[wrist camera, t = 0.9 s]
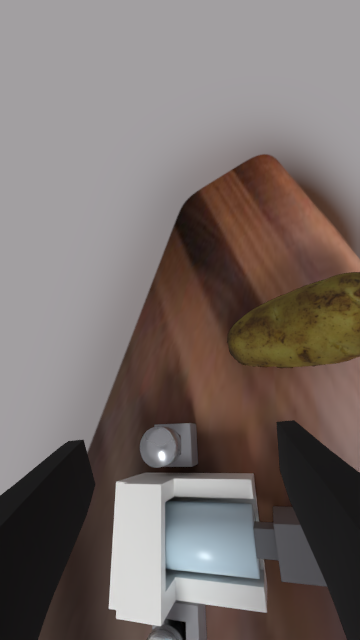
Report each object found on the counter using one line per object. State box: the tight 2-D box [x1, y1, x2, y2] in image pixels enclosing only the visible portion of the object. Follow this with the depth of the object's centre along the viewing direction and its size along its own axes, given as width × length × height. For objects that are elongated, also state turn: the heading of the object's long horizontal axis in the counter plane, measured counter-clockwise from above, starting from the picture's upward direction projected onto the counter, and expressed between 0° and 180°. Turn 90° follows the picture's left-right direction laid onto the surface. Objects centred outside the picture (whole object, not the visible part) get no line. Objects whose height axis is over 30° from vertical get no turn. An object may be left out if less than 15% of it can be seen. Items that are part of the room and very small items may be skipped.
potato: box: [227, 272, 360, 368], centre depth 22 cm, size 8×13×8 cm, turn 76°
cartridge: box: [165, 501, 327, 586], centre depth 19 cm, size 4×12×5 cm, turn 92°
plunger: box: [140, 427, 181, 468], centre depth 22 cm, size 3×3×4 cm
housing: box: [109, 423, 267, 640], centre depth 19 cm, size 15×10×6 cm, turn 2°
